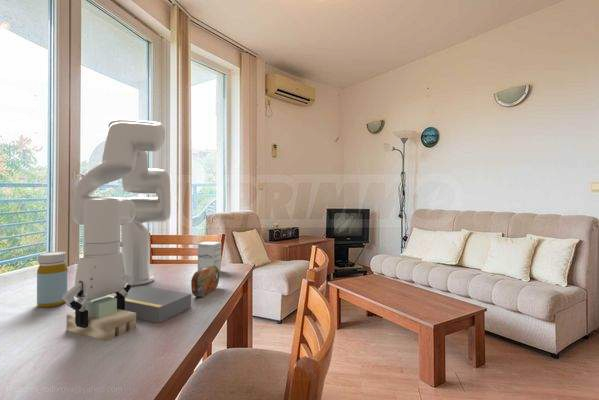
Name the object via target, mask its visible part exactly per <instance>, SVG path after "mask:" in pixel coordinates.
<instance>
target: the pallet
mask: <svg viewBox="0 0 599 400" xmlns="http://www.w3.org/2000/svg"><path fill="white" fill-rule="evenodd" d="M136 328H137V318H136V313H135V312H130V311H125V310H120V309H117V312H115V313H113V314H110V315H107V316H105V317H102V318H100V319H99V318H94V317H90V316H88V327H87V328H81V327H77V326H76V324H75V311H74V312H70V313H68V314H66V329H65V330H66V331H69V332H72V333H76V334H80V335H83V336H88V337H91V338H95V339H99V340H103V341H107V342H108V341H110V340H113V339H115V337H116V336H121V335H124V334H126V333H127V331H129V332H130V331H132V330H135V329H136Z"/></svg>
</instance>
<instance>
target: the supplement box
mask: <svg viewBox="0 0 599 400" xmlns="http://www.w3.org/2000/svg"><path fill="white" fill-rule="evenodd" d="M197 245H198V246H197V271H199V270H201V269H203V268H205V267H207V266H216V267H217V268H218V271H219V272H220V271H222V267H221V266H222V242H219V241H202V242H199V243H198V244H197Z"/></svg>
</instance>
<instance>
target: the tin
mask: <svg viewBox="0 0 599 400" xmlns="http://www.w3.org/2000/svg"><path fill="white" fill-rule="evenodd" d="M192 275H193V276H192V277H191V280H190V283H191V284H190V286H191V287H190V288H191V295H193V296H194V297H198V298H199V297H200V298H205V297H206V296H207V295H209V294H211V293H212V292H213V291H215V290H216V289H217V288H218V285H219V283H220V282H219V281H220V271H218V268H217V267H216V266H207V267H205V268H203V269H201V270H199V271H198V270H197V271H195V272H194V274H192Z"/></svg>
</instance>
